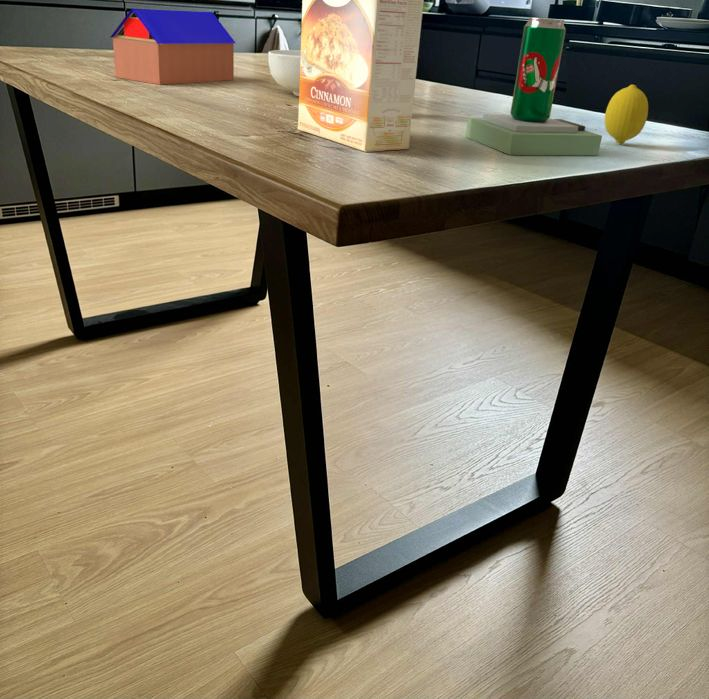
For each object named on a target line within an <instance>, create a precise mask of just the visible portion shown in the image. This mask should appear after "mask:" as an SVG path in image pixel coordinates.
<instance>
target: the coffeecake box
mask: <svg viewBox="0 0 709 699" xmlns="http://www.w3.org/2000/svg"><path fill="white" fill-rule="evenodd" d="M424 2H425V1H424V0H302V1H301V3H302V5H301V29H300V30H301V36H300V50H301V59H300V88H299V96H298V115H297V116H298V118H297V120H298V122H297V130H299V131H301V132H304V133H308V134H310V135H314V136H316V137H318V138H319V137H320V138H321V139H322V138H323V139H325V140H329V141H331V142H334V143H338V144H340V145H343V146H346V147H350V148H353V149H356V150H358V151H361V152H365V153H372V152H384V151H395V150H397V151H398V150H399V151H400V150H409V148H410V137H411V128H412V120H413V119H412V118H413V110H414V109H413V108H414V99H415V88H416V81H417V80H416V78H417V69H418V58H419V51H420V41H421V40H420V39H421V31H422V30H421V29H422V20H423V12H424V11H423V10H424Z"/></svg>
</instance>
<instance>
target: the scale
mask: <svg viewBox="0 0 709 699" xmlns="http://www.w3.org/2000/svg"><path fill="white" fill-rule="evenodd" d="M465 130H466V131H465V138H467V139H470V140H472V141H474V142H477V143H479V144H482V145H484V146H487V147H489V148H491V149H493V150H496V149H497V150H496V151H498V152H501V151H502V152H501V153H503V152H504V154H506V155H508V156H598V155H599V152H600V148H601V143H602V138H603V135H602V134H598V133H595V132H591V131H588V130H586V125H583V124H579V123H576V122H573V121H569V120H566V119H563V118H562V119H561V118H551V117H550V118H549V119H548V120H547V121H545V122H526V121H520V120H516V119H514V118H513V117H512V115H511V114H505V113H482V116H481V117H468V118H467V123H466V129H465Z"/></svg>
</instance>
